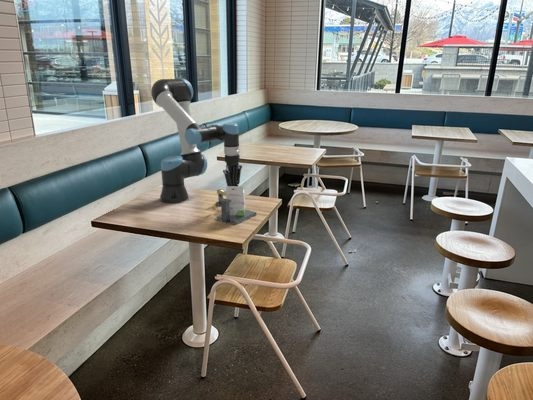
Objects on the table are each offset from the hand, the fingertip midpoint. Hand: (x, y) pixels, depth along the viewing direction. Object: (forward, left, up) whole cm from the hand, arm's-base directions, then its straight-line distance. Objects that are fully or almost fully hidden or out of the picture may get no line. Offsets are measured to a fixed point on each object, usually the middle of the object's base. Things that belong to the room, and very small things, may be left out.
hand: (234, 198), depth 211 cm
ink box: (+11, -11, -3) cm, 16 cm away
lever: (-1, -3, +1) cm, 3 cm away
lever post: (-8, -1, -4) cm, 9 cm away
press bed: (+11, -11, -4) cm, 17 cm away
